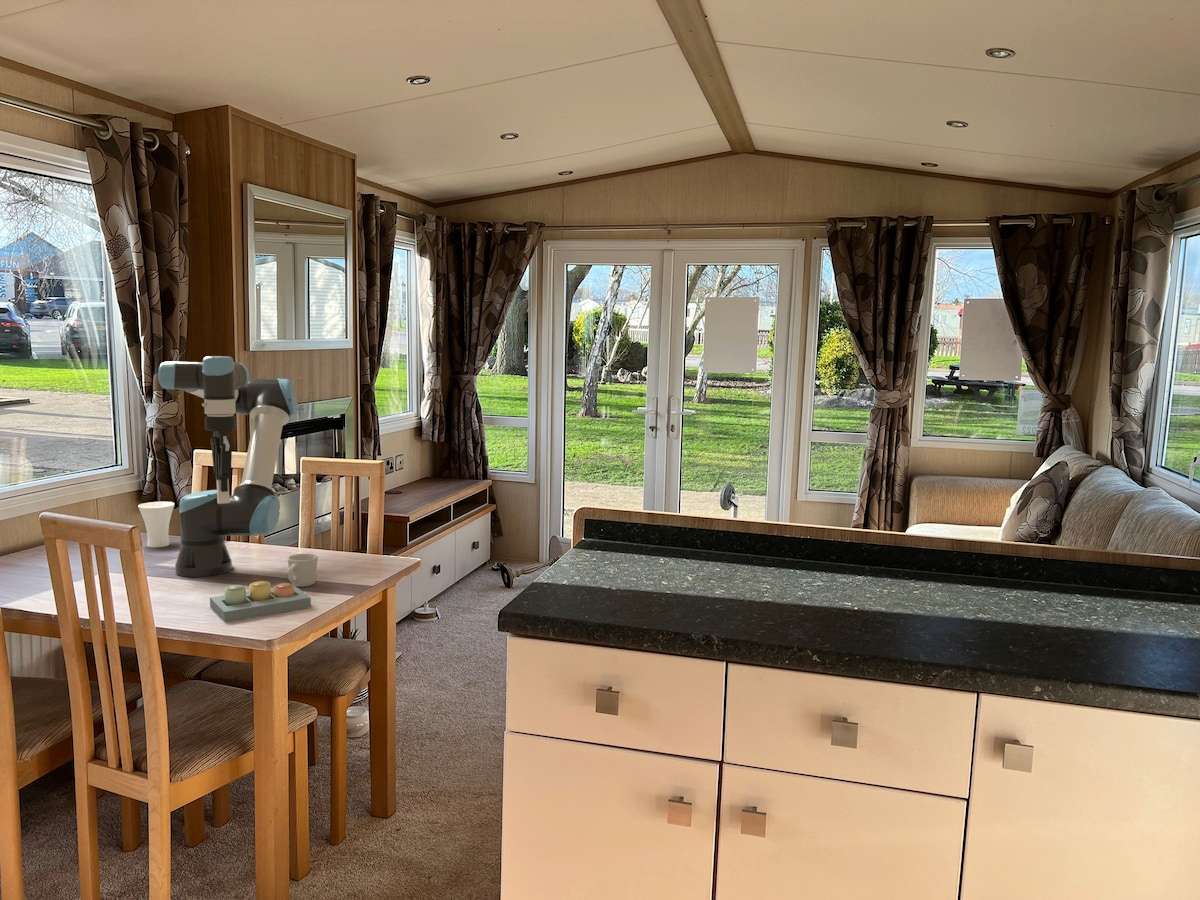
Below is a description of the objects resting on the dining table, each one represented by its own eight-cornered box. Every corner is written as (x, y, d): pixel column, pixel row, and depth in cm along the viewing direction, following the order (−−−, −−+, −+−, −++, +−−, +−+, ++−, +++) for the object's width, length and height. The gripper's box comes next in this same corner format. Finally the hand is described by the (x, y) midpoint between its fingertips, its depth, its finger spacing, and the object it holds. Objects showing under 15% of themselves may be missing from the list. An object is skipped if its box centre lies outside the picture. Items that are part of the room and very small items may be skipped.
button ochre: (247, 598, 224) (246, 582, 223) (267, 594, 227) (267, 579, 226) (253, 603, 220) (252, 587, 219) (273, 599, 223) (272, 584, 222)
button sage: (222, 602, 220) (222, 586, 219) (243, 598, 223) (242, 583, 222) (228, 607, 216) (227, 591, 216) (248, 603, 219) (248, 587, 219)
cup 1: (132, 548, 280) (130, 506, 278) (154, 540, 290) (152, 500, 288) (162, 550, 278) (160, 508, 276) (183, 542, 288) (181, 502, 286)
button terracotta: (271, 599, 227) (271, 584, 227) (290, 596, 230) (290, 581, 230) (277, 604, 223) (277, 589, 223) (297, 601, 226) (296, 586, 226)
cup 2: (303, 592, 236) (302, 564, 235) (276, 590, 238) (275, 562, 237) (323, 581, 247) (323, 554, 246) (298, 579, 248) (297, 552, 247)
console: (210, 607, 223) (209, 597, 222) (293, 593, 235) (292, 584, 235) (224, 622, 212) (224, 611, 211) (310, 607, 224) (310, 597, 224)
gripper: (198, 413, 233) (202, 500, 236) (211, 417, 223) (214, 508, 226) (228, 412, 237) (231, 497, 241) (241, 416, 227) (245, 505, 230)
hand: (223, 502), depth 233 cm, fingers closed
